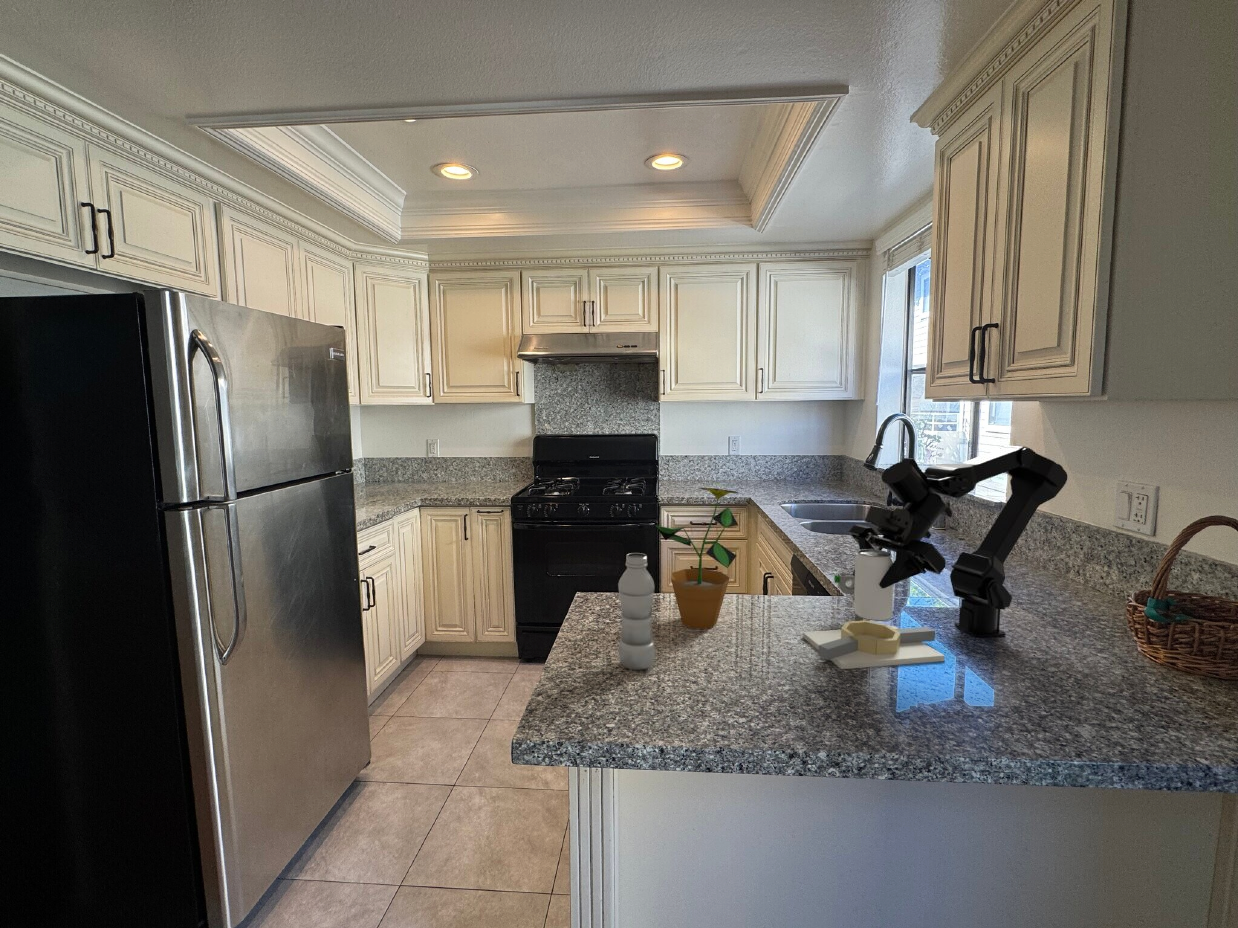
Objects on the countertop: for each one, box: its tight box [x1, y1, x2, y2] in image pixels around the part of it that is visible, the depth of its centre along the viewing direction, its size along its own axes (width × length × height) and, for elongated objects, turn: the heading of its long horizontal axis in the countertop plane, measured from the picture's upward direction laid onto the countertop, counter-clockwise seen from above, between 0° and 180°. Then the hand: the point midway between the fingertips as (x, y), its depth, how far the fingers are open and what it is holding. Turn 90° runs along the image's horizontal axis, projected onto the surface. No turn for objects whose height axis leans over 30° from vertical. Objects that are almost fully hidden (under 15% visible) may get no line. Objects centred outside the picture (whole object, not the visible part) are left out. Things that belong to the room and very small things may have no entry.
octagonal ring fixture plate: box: [802, 619, 945, 670], centre depth 104 cm, size 25×14×4 cm, turn 99°
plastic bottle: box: [617, 552, 656, 671], centre depth 96 cm, size 6×7×20 cm
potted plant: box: [654, 487, 739, 630], centre depth 116 cm, size 18×19×30 cm
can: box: [853, 549, 894, 622], centre depth 102 cm, size 6×6×12 cm
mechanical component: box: [833, 572, 864, 621], centre depth 117 cm, size 3×10×10 cm, turn 78°
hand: (867, 581), depth 102 cm, fingers closed on can, 6 cm apart
